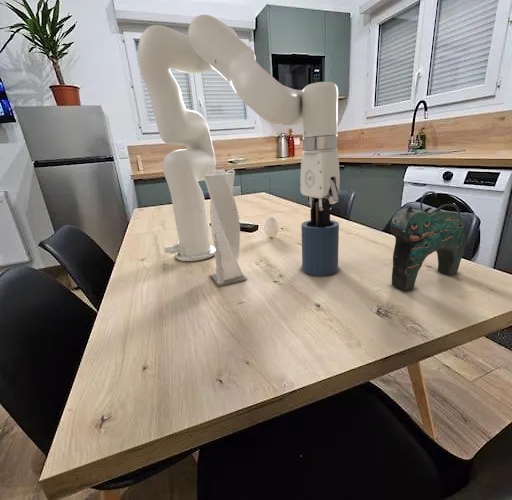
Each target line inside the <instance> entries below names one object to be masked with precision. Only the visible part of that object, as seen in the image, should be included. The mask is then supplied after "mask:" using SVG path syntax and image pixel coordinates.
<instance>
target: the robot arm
mask: <svg viewBox="0 0 512 500" xmlns="http://www.w3.org/2000/svg"><path fill="white" fill-rule="evenodd" d="M137 62H138V67H139V70H140V73H141V76H142V79H143V81H144V85H145V88H146V90H147V93H148V97H149V101H150V104H151V108H152V112H153V115H154V119H155V123H156V127H157V131H158V135H159V137H160V139H161V140H162V141H163V142H164V143H165V144H167V145H171V146H185V148H183V149H182V148H181V149H175V150H173V151H171V152H168V153H167V154H166V155H165V157H164V158H163V162H162V171H163V175H164V177H165V181H166V183H167V186H168V190H169V193H170V198H171V203H172V208H173V215H174V221H175V226H176V233H177V239H178V241H176V244H174V245H172V246H164V247H163V250H164V253H165V254H169V255H172V254H173V255H174V254H175V258H176V259H177V260H179V261H181V262H197V261H203V260H206V259H207V260H208V259H209V258H212V257H214V256H215V255H214V252H215V247H214V245H211V237H210V230H209V224H208V221H209V220H208V214H207V206H206V200H205V195H204V191H203V190H202V187H201V186H200V183H199V182H203V181H205V179H204V171H205V169H206V167H207V166H208V165H209V164H211V163H215V164H216V165H217V159H216V153H215V149H214V144H213V140H212V136H211V132H210V128H209V127H210V126H209V125H208V122H207V120H206V119H205V117H204V116H203V115H202V114H201V113H200V112H198V111H196V110H190V109H186V106H185V102H184V100H183V95H182V90H181V88H180V86H179V84H178V82H177V80H176V78H175V77H174V75H173V73H172V72H171V71H172V70H174V71H178V72H181V73H182V72H183V73H185V74H191V75H192V74H193V75H195V74H200V73H205V72H209V71H212V70H214V71H216V72H217V73H218V74H219V75H220V76H221V77H222V78H223V79H224V80H226V81H227V82H228V83H229V84H230V85H231V87H232V89H233V91H234V92H235V94H236V95H237V96H238V97H239V99H240V100H241V101H242V102H243V103H244V104H245V105H246V106H247V107H248V108H250V109H251V110H252V111H253V112H254V113H255V114H257V115H258V116H259V117H260V118H262V119H263V120H264V121H265V122H268V123H270V124H273V125H282V126H295V125H298V124H302V153H301V154H302V156H301V161H300V175H299V176H300V177H299V186H300V187H299V189H300V194H302V196H304V197H305V198H306V200H307V201H308V204H309V205H308V207H309V209H310V220H311V224H312V225H315V224H316V202H319V211H317V218H318V227H325V226H329V225H330V220H331V210H332V208H333V206H334V204H336V203H338V202H339V200H340V199H339V193H340V185H341V178H340V174H341V173H340V172H341V171H340V159H339V154H338V153H339V152H338V116H339V115H338V114H339V113H338V111H339V110H338V109H339V89H338V86H337V84H336V83H334V82H332V81H318V82H313V83H310V84H307V85H305V86H304V87H303V89H295V88H291V87H289V86H287V85H283V84H282V83H281V82H279V80H277V79H276V78H275V77H274V76H272V75H271V74H270V73H269V72H268V71H266V69H264V68H263V67H262V66H261V65H260V64H259V63H258V62H257V56H256V52H255V51H254V50H253V48H251V47H250V46H249V45H247V44H246V43H245V42H244V41H243V40H242V39H240V38H239V35H238V34H237V32H236V31H235V30H234V29H233V28H232V27H231V26H230V25H228V24H226V23H224V22H223V21H222V20H219V19H218V18H217V17H215V16H212V15H209V14H199V15H197V16H196V17H194V18H193V19H192V21H191V22H190V23H189V25H188V29H187V34H185V33H182V32H180V31H179V30H176V29H174V28H171V27H168V26H165V25H160V24H154V25H149V26H148V27H146V29H144V30H143V32H142V34H141V36H140V38H139V41H138V44H137ZM214 166H215V165H211V166H209V167H208V168H207V171H206V175H211V174H213V171H214ZM206 175H205V176H206Z"/></svg>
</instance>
